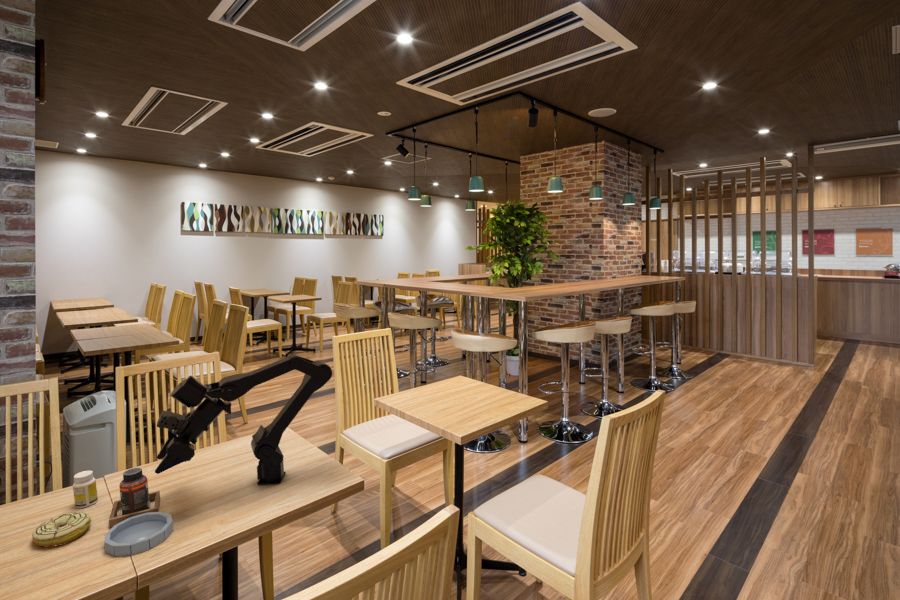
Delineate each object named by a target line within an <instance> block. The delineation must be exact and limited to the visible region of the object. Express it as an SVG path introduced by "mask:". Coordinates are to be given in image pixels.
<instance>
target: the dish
mask: <svg viewBox="0 0 900 600" xmlns="http://www.w3.org/2000/svg"><path fill="white" fill-rule="evenodd" d="M173 531H174V529H173V519H172V514H170V513H167V512H164V511H159V512H148V513H144V514H140V515H137V516H133V517H131V518H128V519H126V520H124V521H122V522H120V523H118V524H116V525H114V526H113V527H112V528H111V529H110V528H109V530H108V531H107V532H105V534H104V542H103V543H104V552H105V553H107V554H108V553H109V554H108V555H110V554H111V556H113V557H123V556H124V557H125V556H134V555H136V554H137V555H138V554H140V553H143V552H145V551H148V550H151V549H153V548H155V547H156V546H158V545H160V544H161V543H163V542H164V541H166V540H167V539H168V538H169V536H171V534H172V533H173Z"/></svg>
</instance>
